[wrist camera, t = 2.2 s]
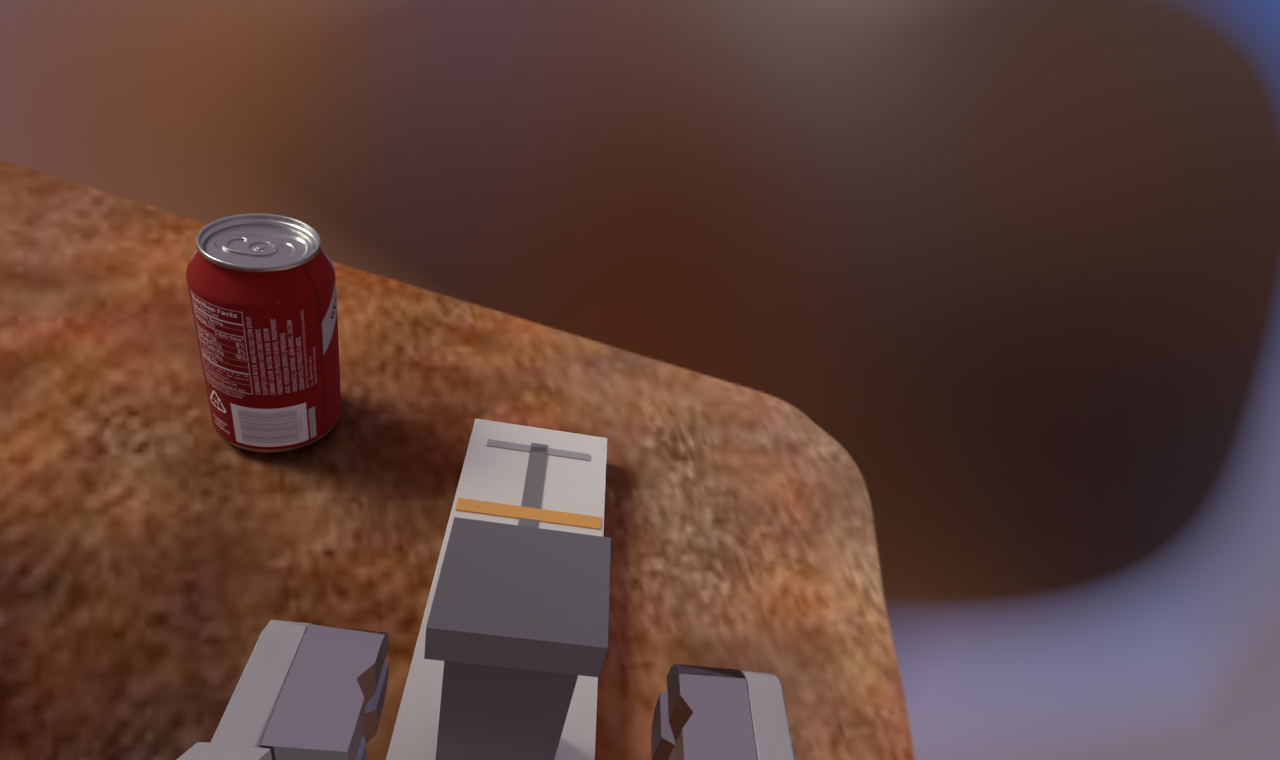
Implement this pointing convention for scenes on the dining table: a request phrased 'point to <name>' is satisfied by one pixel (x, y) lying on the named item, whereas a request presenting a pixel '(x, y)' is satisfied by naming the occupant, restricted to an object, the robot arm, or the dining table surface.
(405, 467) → the dining table surface
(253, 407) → the soda can
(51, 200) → the dining table surface
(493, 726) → the slider knob
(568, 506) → the slider box
